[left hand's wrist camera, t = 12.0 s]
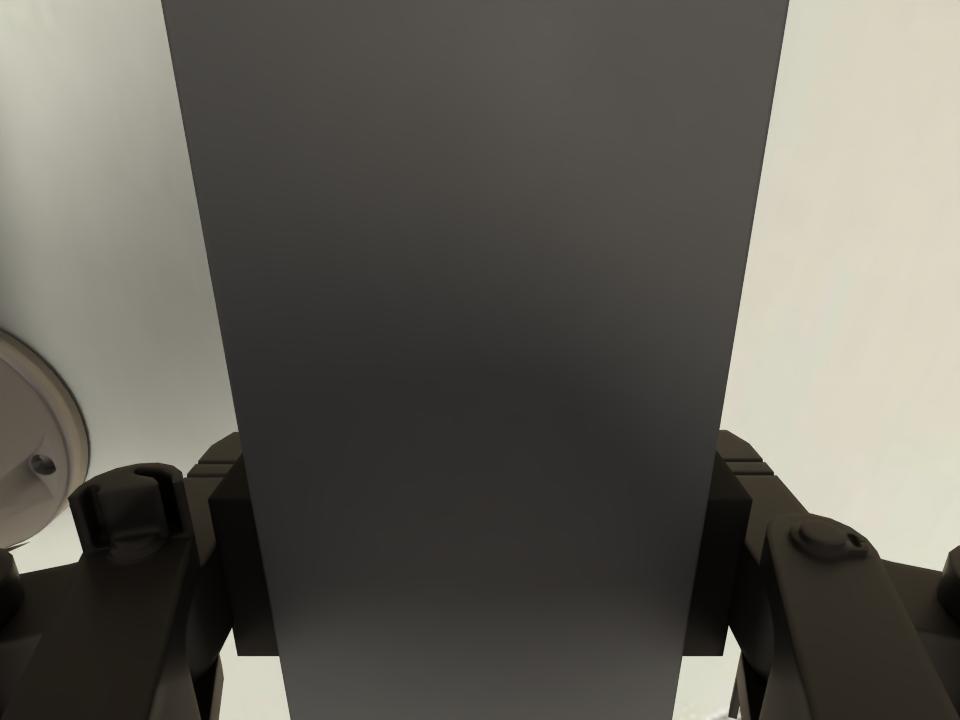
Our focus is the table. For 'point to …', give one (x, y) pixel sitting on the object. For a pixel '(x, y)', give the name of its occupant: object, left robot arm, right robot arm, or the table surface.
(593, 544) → the post
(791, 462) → the table surface
